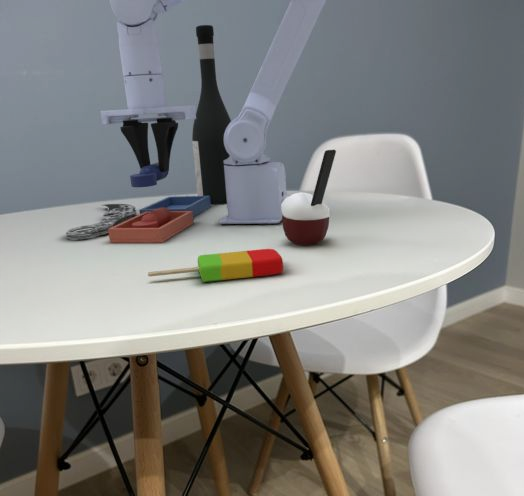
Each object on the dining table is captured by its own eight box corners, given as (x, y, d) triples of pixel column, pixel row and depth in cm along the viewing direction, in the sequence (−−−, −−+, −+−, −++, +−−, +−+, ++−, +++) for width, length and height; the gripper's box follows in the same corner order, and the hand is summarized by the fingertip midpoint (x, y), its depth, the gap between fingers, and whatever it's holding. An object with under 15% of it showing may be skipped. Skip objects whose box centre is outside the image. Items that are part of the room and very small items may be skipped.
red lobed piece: (156, 222, 94) (153, 206, 93) (177, 222, 93) (176, 205, 92) (129, 236, 85) (126, 218, 84) (153, 236, 84) (150, 218, 83)
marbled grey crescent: (100, 201, 113) (150, 195, 112) (102, 209, 113) (152, 203, 113) (52, 235, 87) (118, 227, 86) (55, 245, 87) (120, 237, 87)
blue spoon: (153, 178, 95) (151, 161, 94) (175, 177, 94) (173, 160, 93) (127, 187, 86) (124, 169, 85) (151, 187, 85) (148, 168, 84)
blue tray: (210, 206, 108) (209, 195, 107) (186, 221, 96) (184, 209, 95) (169, 207, 110) (168, 196, 109) (140, 221, 98) (138, 209, 97)
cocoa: (277, 237, 81) (273, 147, 76) (321, 233, 82) (319, 144, 77) (291, 254, 72) (288, 153, 68) (340, 249, 73) (340, 149, 68)
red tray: (193, 223, 94) (192, 210, 93) (162, 242, 82) (160, 228, 82) (147, 223, 96) (145, 211, 95) (110, 242, 84) (107, 229, 84)
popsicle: (285, 274, 64) (284, 258, 64) (148, 289, 62) (146, 272, 61) (276, 262, 69) (275, 246, 69) (149, 275, 67) (146, 259, 66)
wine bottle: (192, 205, 110) (173, 25, 98) (207, 198, 117) (191, 29, 105) (232, 205, 108) (218, 21, 96) (244, 197, 115) (233, 25, 103)
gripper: (85, 78, 83) (101, 176, 89) (180, 71, 80) (190, 173, 86) (107, 79, 90) (121, 170, 95) (196, 72, 86) (205, 167, 92)
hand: (155, 171), depth 91 cm, fingers closed on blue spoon, 2 cm apart
